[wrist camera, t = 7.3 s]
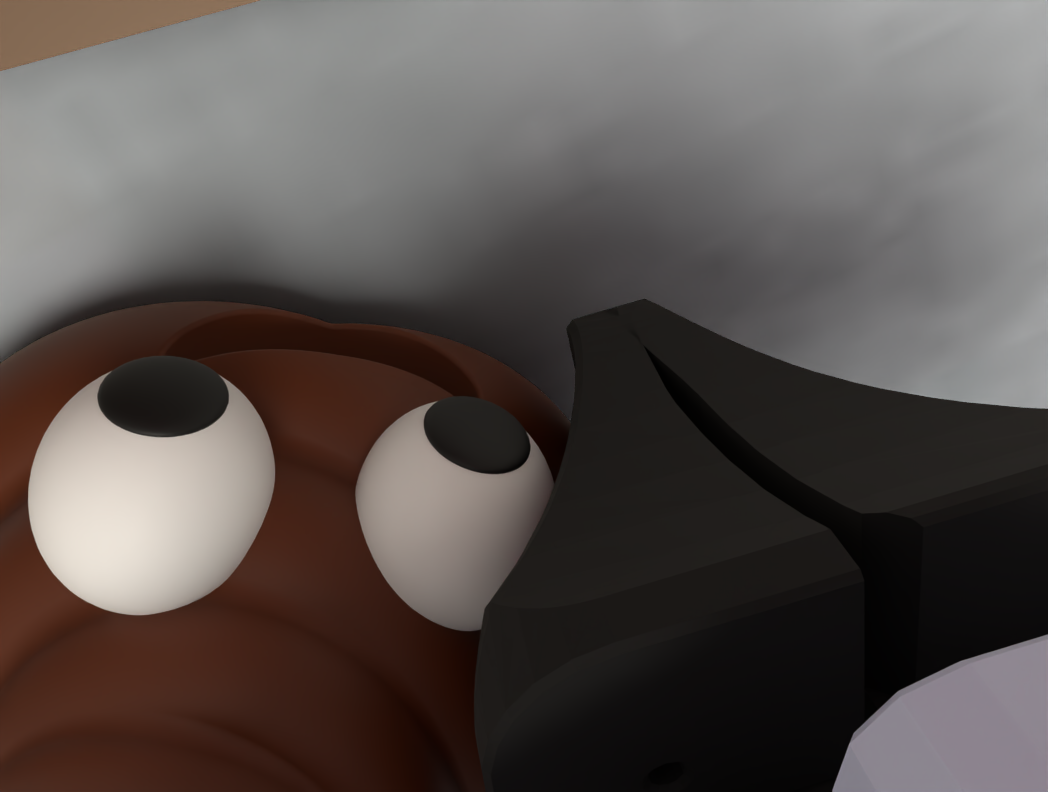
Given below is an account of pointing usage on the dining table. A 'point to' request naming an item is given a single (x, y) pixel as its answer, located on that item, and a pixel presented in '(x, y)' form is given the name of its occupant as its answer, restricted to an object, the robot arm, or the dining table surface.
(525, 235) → the dining table surface
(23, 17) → the frame
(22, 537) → the poop emoji
